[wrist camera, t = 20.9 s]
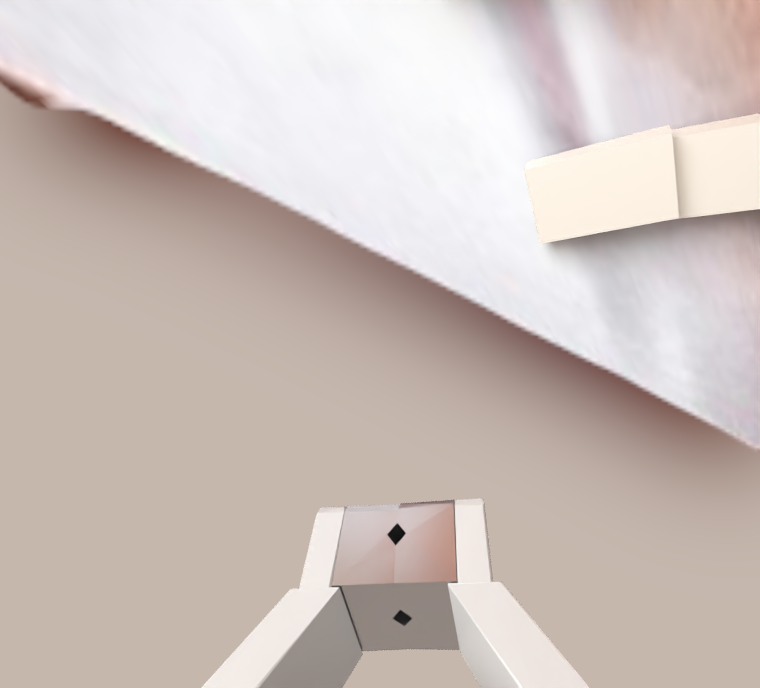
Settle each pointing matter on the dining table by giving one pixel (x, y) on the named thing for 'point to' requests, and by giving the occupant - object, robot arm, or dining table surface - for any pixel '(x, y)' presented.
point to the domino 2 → (718, 166)
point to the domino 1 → (604, 186)
